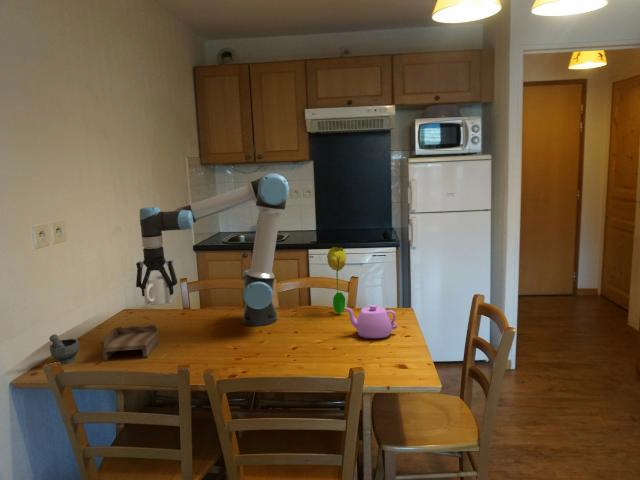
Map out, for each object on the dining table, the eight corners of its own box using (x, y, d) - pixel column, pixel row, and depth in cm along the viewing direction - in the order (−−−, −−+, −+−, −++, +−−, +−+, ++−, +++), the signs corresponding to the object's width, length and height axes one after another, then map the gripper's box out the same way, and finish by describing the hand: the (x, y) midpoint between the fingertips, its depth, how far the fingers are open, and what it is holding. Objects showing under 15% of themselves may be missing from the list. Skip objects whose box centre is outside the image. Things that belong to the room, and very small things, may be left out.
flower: (329, 312, 217) (325, 247, 212) (347, 311, 218) (343, 245, 213) (331, 318, 208) (327, 250, 204) (350, 317, 209) (346, 249, 204)
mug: (155, 309, 184) (153, 282, 182) (138, 307, 187) (135, 281, 185) (175, 300, 195) (173, 275, 193) (158, 299, 198) (156, 274, 196)
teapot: (396, 328, 192) (395, 299, 190) (398, 340, 179) (397, 310, 177) (346, 329, 194) (344, 301, 193) (344, 341, 181) (343, 311, 179)
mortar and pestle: (62, 356, 184) (58, 326, 182) (86, 355, 183) (81, 325, 181) (43, 368, 173) (38, 336, 171) (68, 368, 172) (63, 336, 170)
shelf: (158, 342, 192) (156, 324, 191) (147, 357, 177) (144, 338, 176) (118, 345, 191) (115, 327, 190) (103, 361, 177) (100, 341, 175)
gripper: (182, 243, 191) (187, 299, 195) (129, 246, 191) (135, 302, 194) (177, 247, 184) (183, 304, 187) (122, 249, 183) (128, 307, 187)
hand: (158, 303), depth 191 cm, fingers closed on mug, 8 cm apart
